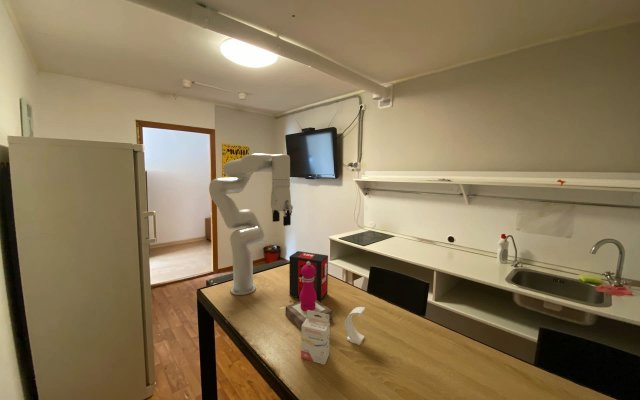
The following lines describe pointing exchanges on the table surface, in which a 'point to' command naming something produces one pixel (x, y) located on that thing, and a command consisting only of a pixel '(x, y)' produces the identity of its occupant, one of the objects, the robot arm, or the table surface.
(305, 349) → the ink cartridge box
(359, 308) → the headphone stand
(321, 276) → the cleaning product box
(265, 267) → the table surface
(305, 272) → the pepper mill
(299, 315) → the walnut frame
